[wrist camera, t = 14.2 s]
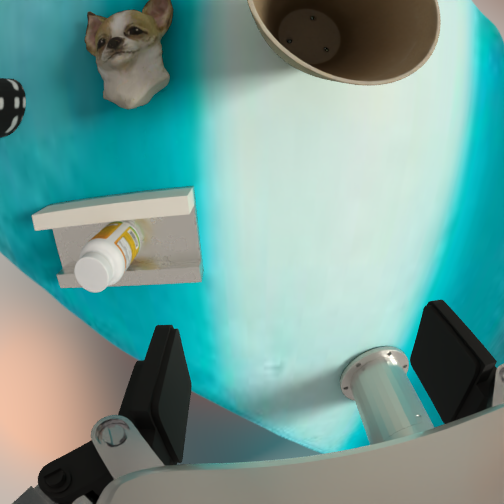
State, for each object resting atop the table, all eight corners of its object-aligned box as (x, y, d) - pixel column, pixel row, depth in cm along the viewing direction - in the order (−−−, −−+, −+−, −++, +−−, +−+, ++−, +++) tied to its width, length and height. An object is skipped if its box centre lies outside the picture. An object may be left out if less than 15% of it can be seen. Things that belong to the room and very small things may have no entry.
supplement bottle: (97, 248, 38) (63, 283, 29) (110, 212, 37) (75, 240, 28) (132, 267, 40) (106, 307, 31) (147, 232, 38) (121, 266, 29)
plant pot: (237, -15, 27) (237, -86, 13) (360, -10, 27) (421, -62, 13) (247, 100, 33) (253, 85, 19) (372, 98, 33) (449, 94, 19)
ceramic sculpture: (74, 125, 25) (61, -1, 20) (107, 126, 33) (92, 21, 28) (180, 90, 25) (158, -39, 20) (193, 101, 33) (173, -7, 28)
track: (193, 185, 37) (187, 195, 32) (203, 270, 41) (199, 290, 37) (51, 204, 37) (31, 215, 32) (69, 277, 41) (54, 295, 36)
